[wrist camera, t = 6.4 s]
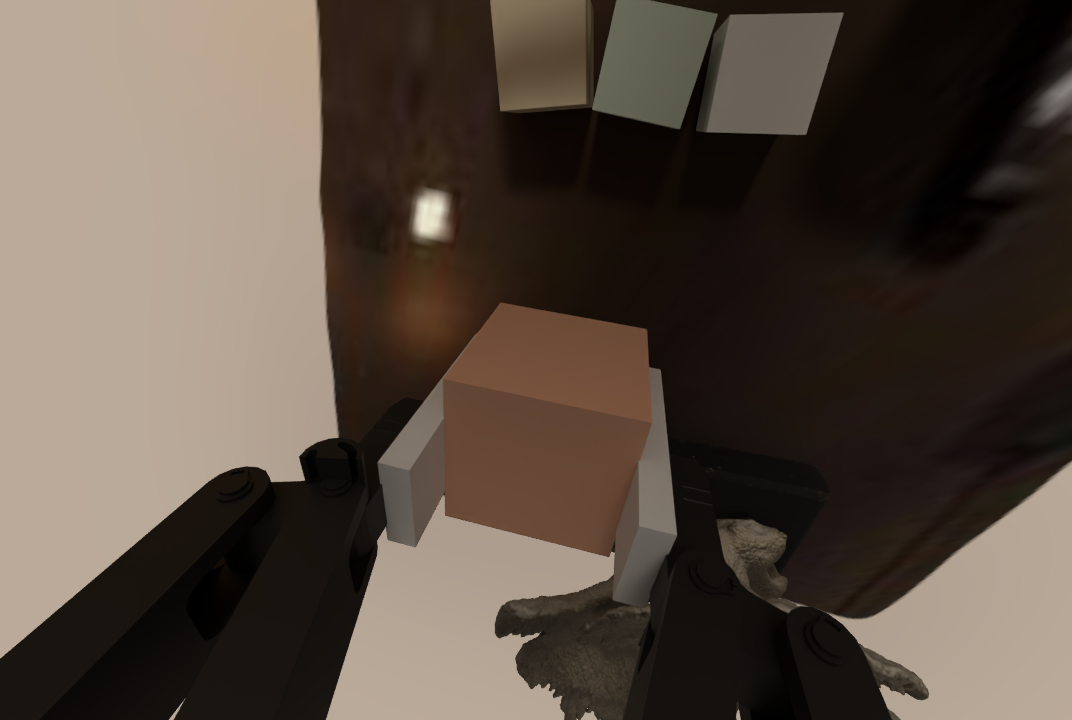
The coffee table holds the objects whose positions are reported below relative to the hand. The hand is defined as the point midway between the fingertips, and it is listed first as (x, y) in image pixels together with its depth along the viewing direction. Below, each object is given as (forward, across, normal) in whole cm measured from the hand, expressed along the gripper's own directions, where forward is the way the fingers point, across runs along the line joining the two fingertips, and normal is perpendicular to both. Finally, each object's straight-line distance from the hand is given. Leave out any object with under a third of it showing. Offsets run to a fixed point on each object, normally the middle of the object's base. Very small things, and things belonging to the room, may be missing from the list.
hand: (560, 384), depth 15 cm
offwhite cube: (+20, +7, +11) cm, 24 cm away
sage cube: (+20, +1, +11) cm, 23 cm away
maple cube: (+20, -5, +11) cm, 23 cm away
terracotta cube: (0, 0, 0) cm, 0 cm away
